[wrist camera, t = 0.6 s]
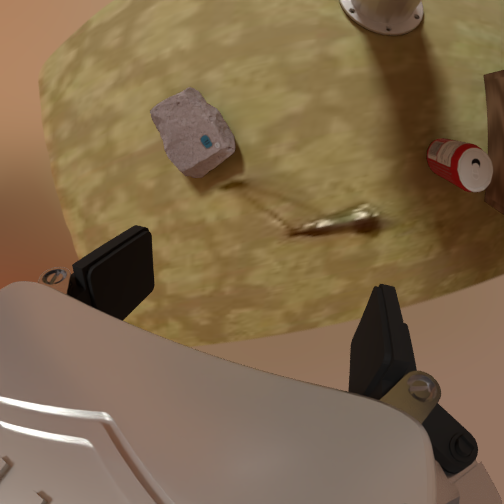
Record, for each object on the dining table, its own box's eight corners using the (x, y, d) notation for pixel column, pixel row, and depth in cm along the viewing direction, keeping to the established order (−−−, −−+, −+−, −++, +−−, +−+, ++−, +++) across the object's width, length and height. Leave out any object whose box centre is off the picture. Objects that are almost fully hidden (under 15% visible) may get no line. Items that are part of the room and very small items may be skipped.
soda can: (455, 178, 33) (491, 200, 23) (423, 171, 34) (453, 190, 24) (459, 142, 31) (498, 152, 20) (427, 134, 32) (460, 139, 22)
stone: (246, 150, 41) (232, 154, 36) (198, 179, 45) (179, 187, 40) (205, 80, 38) (187, 75, 33) (161, 113, 42) (139, 113, 37)
